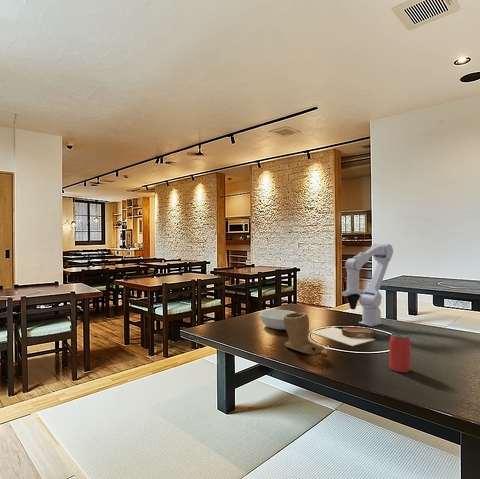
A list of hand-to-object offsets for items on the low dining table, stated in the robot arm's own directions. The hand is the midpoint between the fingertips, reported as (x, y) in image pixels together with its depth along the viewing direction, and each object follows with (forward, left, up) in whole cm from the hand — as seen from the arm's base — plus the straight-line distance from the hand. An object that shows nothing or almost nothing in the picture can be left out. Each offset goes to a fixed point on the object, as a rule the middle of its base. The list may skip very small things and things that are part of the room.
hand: (352, 309), depth 172 cm
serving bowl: (+31, -20, -10) cm, 38 cm away
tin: (+8, +8, -8) cm, 13 cm away
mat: (+17, +7, -9) cm, 21 cm away
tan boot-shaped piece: (+47, +11, -10) cm, 49 cm away
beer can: (+32, +44, -10) cm, 55 cm away
